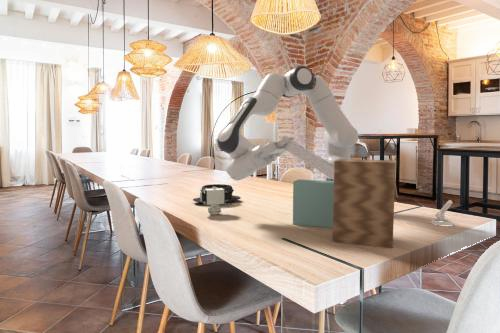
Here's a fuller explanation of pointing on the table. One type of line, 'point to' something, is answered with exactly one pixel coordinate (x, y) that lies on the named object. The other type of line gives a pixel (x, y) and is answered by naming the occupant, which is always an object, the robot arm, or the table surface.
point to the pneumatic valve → (214, 199)
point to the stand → (364, 202)
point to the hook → (442, 215)
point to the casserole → (227, 187)
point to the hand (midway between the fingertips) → (290, 139)
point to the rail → (309, 157)
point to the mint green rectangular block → (313, 203)
